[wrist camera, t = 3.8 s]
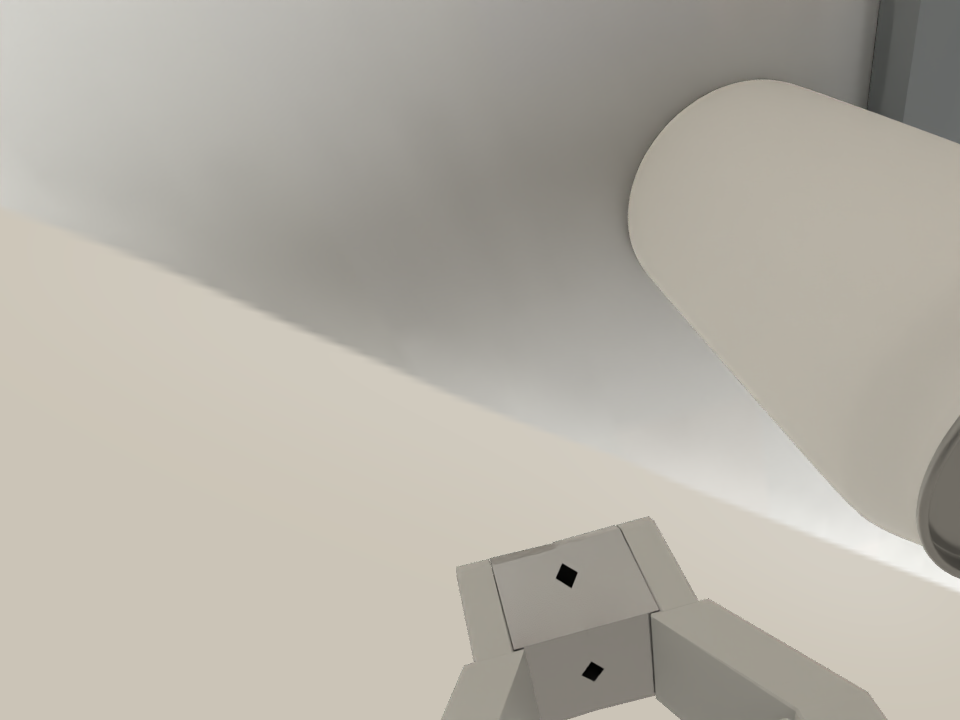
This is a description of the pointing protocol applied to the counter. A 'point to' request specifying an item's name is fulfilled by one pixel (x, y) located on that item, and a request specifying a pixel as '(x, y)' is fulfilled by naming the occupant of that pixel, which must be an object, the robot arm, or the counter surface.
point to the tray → (918, 65)
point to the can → (822, 285)
